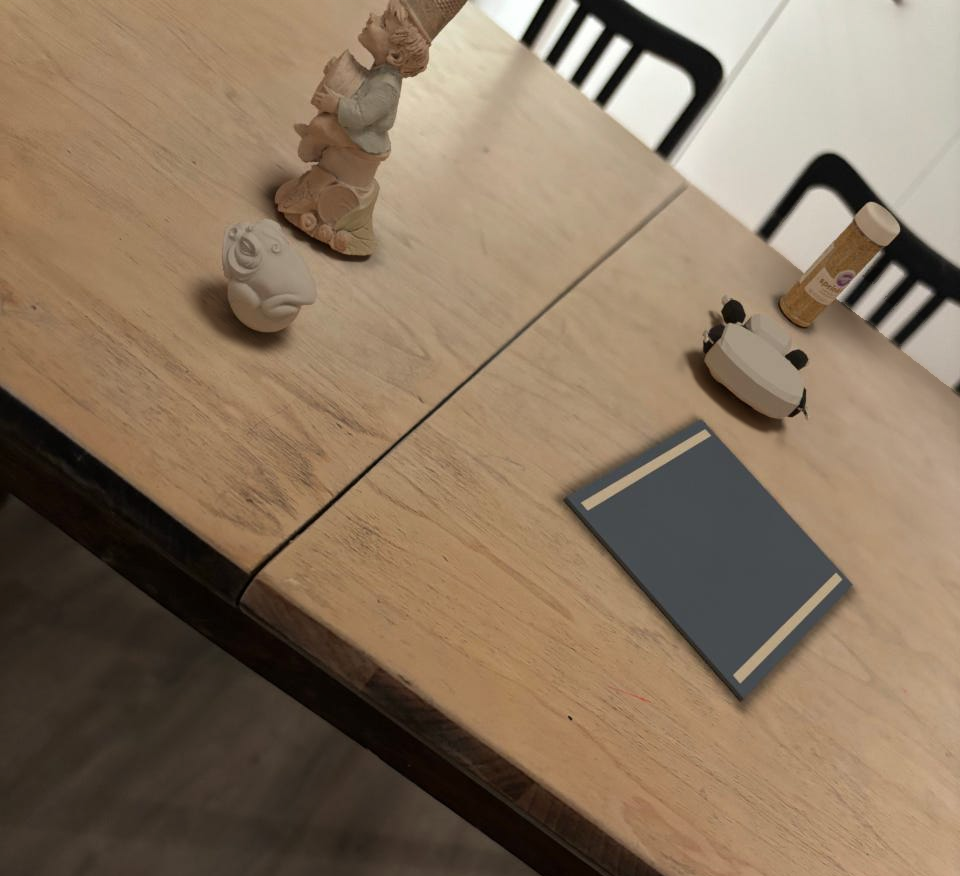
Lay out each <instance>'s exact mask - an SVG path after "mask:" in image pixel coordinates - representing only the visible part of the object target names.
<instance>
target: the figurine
mask: <svg viewBox="0 0 960 876" xmlns="http://www.w3.org/2000/svg"><path fill="white" fill-rule="evenodd" d="M468 1H469V0H388V1H387V5H386V9H384V10H383V14H382V15H377V14H375V13H374V12H372V11H371V12H370V13H369V17H368V19H367V21H366V22H365V27H362V29H361V33H359V34H358V35H357V41H358V42H359V43H360V45H361V46H362V47H363V48H364V49H366V50H367V51H368V52H369V53H370V54H371V56H372V58H373V63H372V65H371V67H370V68H369V69H368V68H367V67H366V66H364V65H362V64H361V63H360V62H359V61H358V60H357V59H356V58H355V56H354V54H352V53H351V52H350V49H349V47H348V48H346V49H345V50H344V51H343V52H342V53H341V54H340V55H339V56H338V57H337V56H335V55H334V56H332V57H331V58H330V59H329V60H328V61H327V63H326V64H325V65H324V69H323V71H322V72H323V75H324V76H323V78H322V79H321V81H320V82H319V84H318V85H317V87H316V89H315V90H314V93H313V95H312V97H311V99H310V104H311V105H312V106H314V107H315V108H316V109H317V113H316V114H317V115H315V116H314V117H313V118H312V119H311V120H310V121H309V123H308V124H306V123H301V122H300V123H298V122H297V123H294V124H293V130H294V132H295V133H296V134H297V135H298V136H299V137H300V138H301V140H299V144H298V146H297V157H298V158H299V159H300V161H301V162H303V163H305V164H308V163H315V164H311V165H310V168H311V169H307V170H306V171H305V172H304V173H302V174H301V175H300V176H298V177H294V178H292V179H290V180H288V181H285V183H283V184H282V185H281V186H280V187H278V189H277V191H276V193H275V196H274V203H275V205H277V211H278V212H279V213H282V214H284V215H283V216H284V218H285V219H286V220H287V221H288V222H290V223H291V224H292V225H294V226H295V227H297V228H299V229H300V230H301V231H303V232H304V233H305V234H307V235H309V236H310V237H312V238H315V239H316V240H317V241H318V240H319V241H320V242H322V243H325V244H326V245H329V246H330V248H331V249H332V250H333V251H336V252H338V253H340V254H343V255H348V256H351V255H352V256H371V255H372V254H373V253H375V251H376V248H377V241H376V237H375V234H374V228H373V227H374V226H373V213H374V209H375V206H376V203H377V200H378V196H379V195H380V190H381V186H380V184H379V182H378V180H377V179H376V178H375V176H376V173H377V170H378V168H379V166H380V165H381V163H382V162H385V161H386V160H387V159H388V158H389V157H390V155H391V153H392V142H391V140H390V135H389V131H390V130H391V129H392V128H394V125H395V122H396V119H397V113H398V107H399V104H400V103H399V102H400V98H401V92H402V87H403V86H402V85H403V80H404V79H409V78H414V77H417V76H418V75H419V74H421V73H424V72H425V71H426V70H427V69H428V65H429V61H430V48H431V47H432V44H433V43H432V42H433V41H434V40H435V39H436V38H437V36H438V35H439V34H440V33H441V32H442V31H443V29H445V27H446V26H447V25H448V24H449V23H450V22H451V21H452V20H454V18H455V17H456V16H457V15H458V13H459V12H461V10H462V9H463V8H464V7H465V5H466V4H467V2H468Z"/></svg>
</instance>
